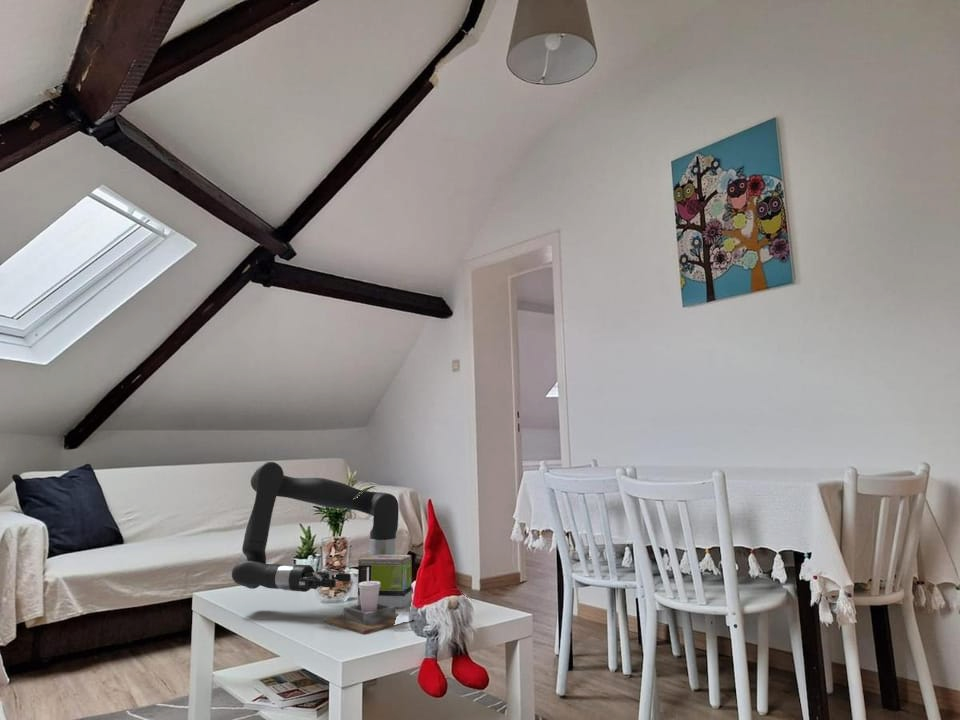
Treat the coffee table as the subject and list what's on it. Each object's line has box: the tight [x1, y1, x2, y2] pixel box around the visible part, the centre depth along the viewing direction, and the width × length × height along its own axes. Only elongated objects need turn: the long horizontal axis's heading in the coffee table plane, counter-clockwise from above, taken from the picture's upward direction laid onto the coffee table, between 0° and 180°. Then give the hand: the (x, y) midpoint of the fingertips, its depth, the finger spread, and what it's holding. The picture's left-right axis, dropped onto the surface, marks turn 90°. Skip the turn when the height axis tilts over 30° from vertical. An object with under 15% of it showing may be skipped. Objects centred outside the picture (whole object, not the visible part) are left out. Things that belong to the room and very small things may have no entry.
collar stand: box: [324, 602, 400, 635], centre depth 176 cm, size 18×18×4 cm
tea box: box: [357, 554, 413, 609], centre depth 197 cm, size 15×10×15 cm, turn 79°
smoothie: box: [357, 567, 381, 612], centre depth 177 cm, size 6×6×14 cm
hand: (342, 580), depth 180 cm, fingers open, 8 cm apart
